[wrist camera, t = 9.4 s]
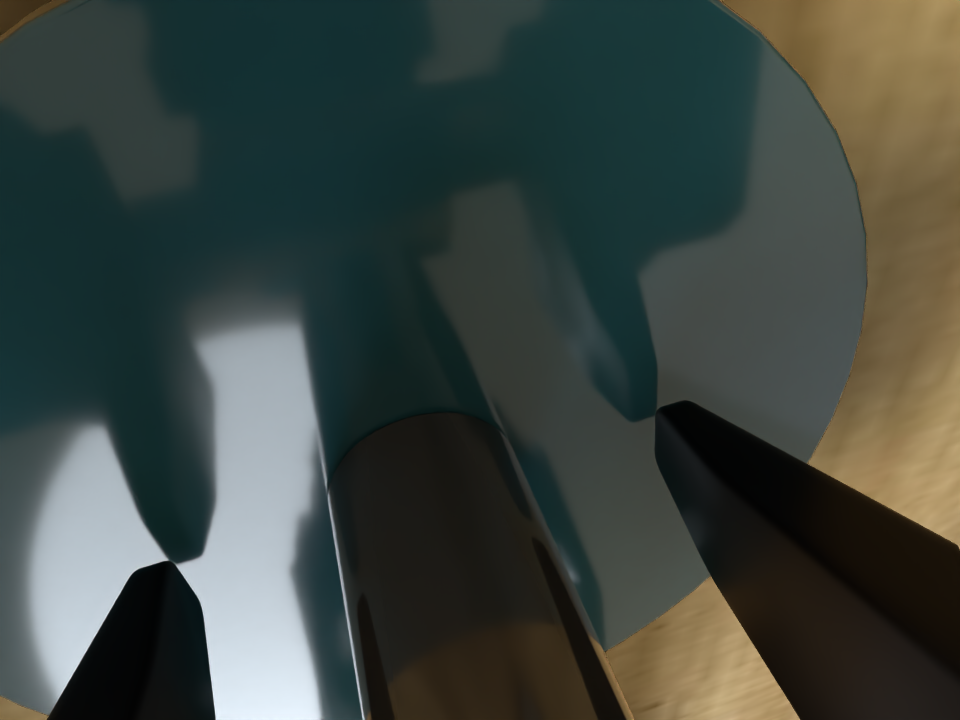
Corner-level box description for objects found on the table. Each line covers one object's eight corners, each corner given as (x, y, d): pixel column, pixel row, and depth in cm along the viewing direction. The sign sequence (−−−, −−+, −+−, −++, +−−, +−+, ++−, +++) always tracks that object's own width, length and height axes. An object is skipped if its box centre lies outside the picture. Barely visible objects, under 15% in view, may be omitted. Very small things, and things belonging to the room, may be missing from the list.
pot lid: (818, 500, 14) (1042, 766, 10) (227, 765, 14) (232, 1135, 10) (812, -348, 6) (1797, -557, 2) (-563, 248, 6) (-1912, 1063, 2)
